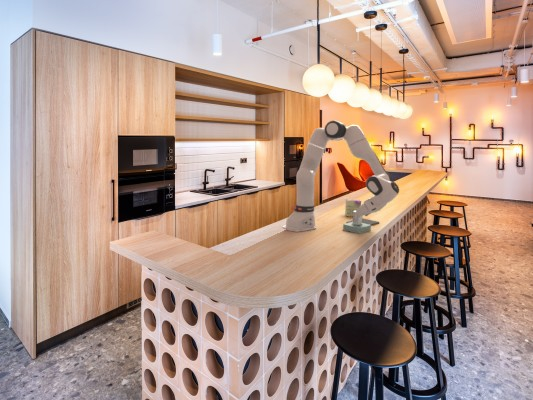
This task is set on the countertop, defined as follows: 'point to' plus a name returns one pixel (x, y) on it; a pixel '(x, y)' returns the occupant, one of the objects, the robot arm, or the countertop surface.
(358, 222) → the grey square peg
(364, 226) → the block
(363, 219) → the mat
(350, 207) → the box
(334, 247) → the countertop surface
